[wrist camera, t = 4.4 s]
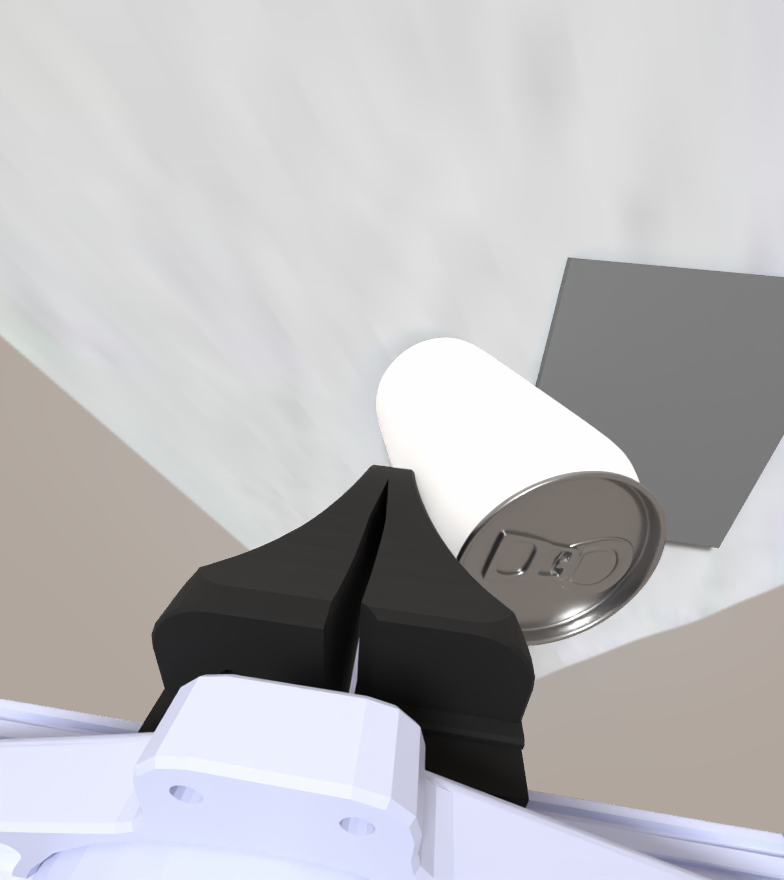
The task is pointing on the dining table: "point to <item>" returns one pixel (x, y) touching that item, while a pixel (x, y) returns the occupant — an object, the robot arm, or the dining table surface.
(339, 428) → the dining table surface
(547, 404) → the can
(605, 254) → the dining table surface
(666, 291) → the mat
